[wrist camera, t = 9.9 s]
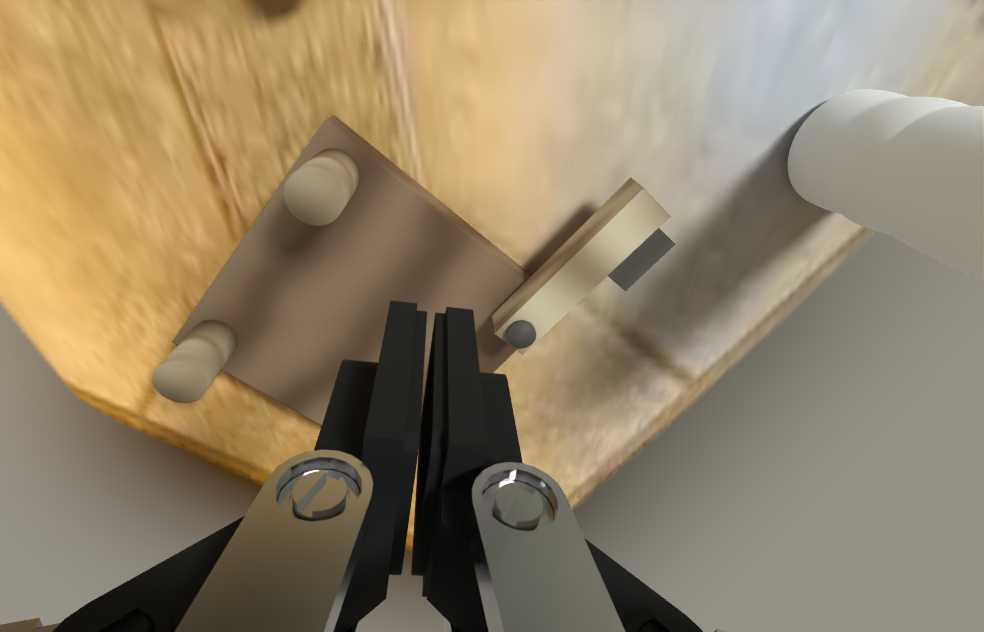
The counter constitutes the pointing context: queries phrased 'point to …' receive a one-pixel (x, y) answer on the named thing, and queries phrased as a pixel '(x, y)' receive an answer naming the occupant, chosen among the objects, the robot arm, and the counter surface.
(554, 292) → the hinged leg
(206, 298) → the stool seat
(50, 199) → the counter surface
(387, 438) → the robot arm
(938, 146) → the water bottle
